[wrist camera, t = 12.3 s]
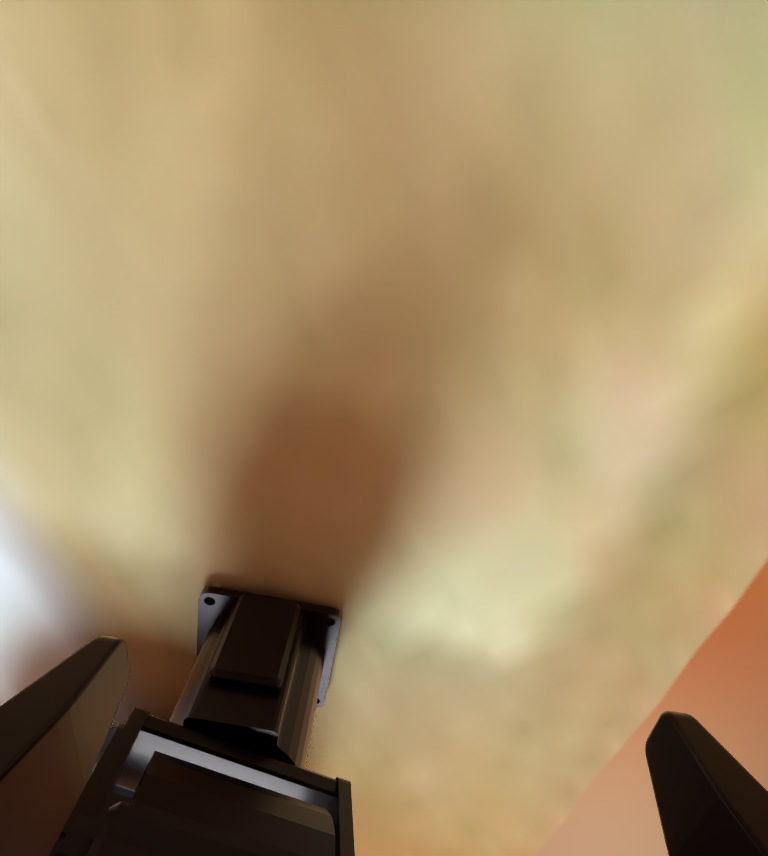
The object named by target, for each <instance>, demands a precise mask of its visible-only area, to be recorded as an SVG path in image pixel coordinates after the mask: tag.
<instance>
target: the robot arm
mask: <svg viewBox="0 0 768 856" xmlns="http://www.w3.org/2000/svg"><path fill="white" fill-rule="evenodd" d="M209 597H211V598H213V599H211V598H209ZM328 618H332V619H328ZM340 623H341V613H340V611H339V610H337V609H335V608H332V607H327V606H321V605H315V604H309V603H304V602H298V601H292V600H287V599H281V598H275V597H269V596H264V595H258V594H252V593H247V592H241V591H235V590H229V589H224V588H218V587H206V588H205V589H203V591H202V593H201V595H200V597H199V606H198V636H197V659H196V662H195V664H194V666H193V668H192V670H191V673H190V675H189V677H188V679H187V682H186V684H185V686H184V688H183V691H182V693H181V695H180V697H179V699H178V702H177V704H176V706H175V708H174V711H173V713H172V715H171V717H170V720H169V721H167V720H165V719H162V718H159V717H156V716H153V715H150V714H149V712H150V711H148V710H145V709H142V708H139V707H135V709H134V711H133V713H132V714H131V716H130V718H129V720H128V722H127V724H126V725H123V724H122V725H119V727H113V728H110V726H111V724H112V721H113V719H114V716H115V714H116V711H117V709H118V707H119V704H120V702H121V699H122V697H123V695H124V692H125V690H126V687H127V684H128V681H129V674H130V670H129V662H128V654H127V646H126V642H125V641H124V639H122V638H118V637H110V636H98V637H96V638H94V639H93V640H91V641H90V642H89V643H87V644H86V645H84V646H83V647H82V648H80V649H79V650H77V651H76V652H75V653H73V654H72V655H71V656H69V657H68V658H66V659H65V660H64V661H62V662H61V663H59V664H58V665H57V666H55V667H54V668H53V669H51V670H50V671H48V672H47V673H46V674H44V675H43V676H41V677H40V678H39V679H37V680H36V681H35V682H33V683H32V684H30V685H29V686H28V687H26V688H25V689H24V690H22V691H21V692H19V693H18V694H17V695H15V696H14V697H12V698H11V699H10V700H8V701H7V702H6V703H4V704H3V705H1V706H0V856H355V853H354V835H353V817H352V799H351V783H350V781H347V780H344V779H341V778H338V777H337V778H336V779H333V778H330V777H327V776H324V775H322V774H319V773H316V772H313V771H310V770H307V769H305V764H306V759H307V753H308V748H309V742H310V737H311V731H312V726H313V720H314V715H315V709H316V707H320V706H322V705H323V704H324V702H325V698H326V693H327V688H328V683H329V678H330V673H331V668H332V663H333V658H334V653H335V648H336V643H337V638H338V633H339V628H340ZM645 750H646V758H647V763H648V767H649V771H650V776H651V780H652V785H653V789H654V794H655V798H656V802H657V807H658V811H659V815H660V820H661V825H662V829H663V834H664V838H665V842H666V846H667V850H668V854H669V856H768V791H767V790H766V789H765V788H764V787H763V786H762V785H761V784H760V783H759V782H758V781H757V780H756V779H755V778H754V777H753V776H752V775H751V774H750V773H749V772H748V771H747V770H746V769H745V768H744V767H743V766H742V765H741V764H740V763H739V762H738V761H737V760H736V759H735V758H734V757H733V756H732V755H731V754H730V753H729V752H728V751H727V750H726V749H725V748H724V747H723V746H722V745H721V744H720V743H719V742H718V741H717V740H716V739H715V738H714V737H713V736H712V735H711V734H710V733H709V732H708V731H707V730H706V729H705V728H704V727H703V726H702V725H701V724H700V723H699V722H698V721H697V720H696V719H695V718H694V717H692V716H691V715H688V714H685V713H679V712H671V711H666V712H664V713H662V714H661V716H660V717H659V719H658V721H657V723H656V724H655V726H654V728H653V730H652V732H651V733H650V735H649V737H648V739H647V741H646V749H645Z"/></svg>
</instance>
